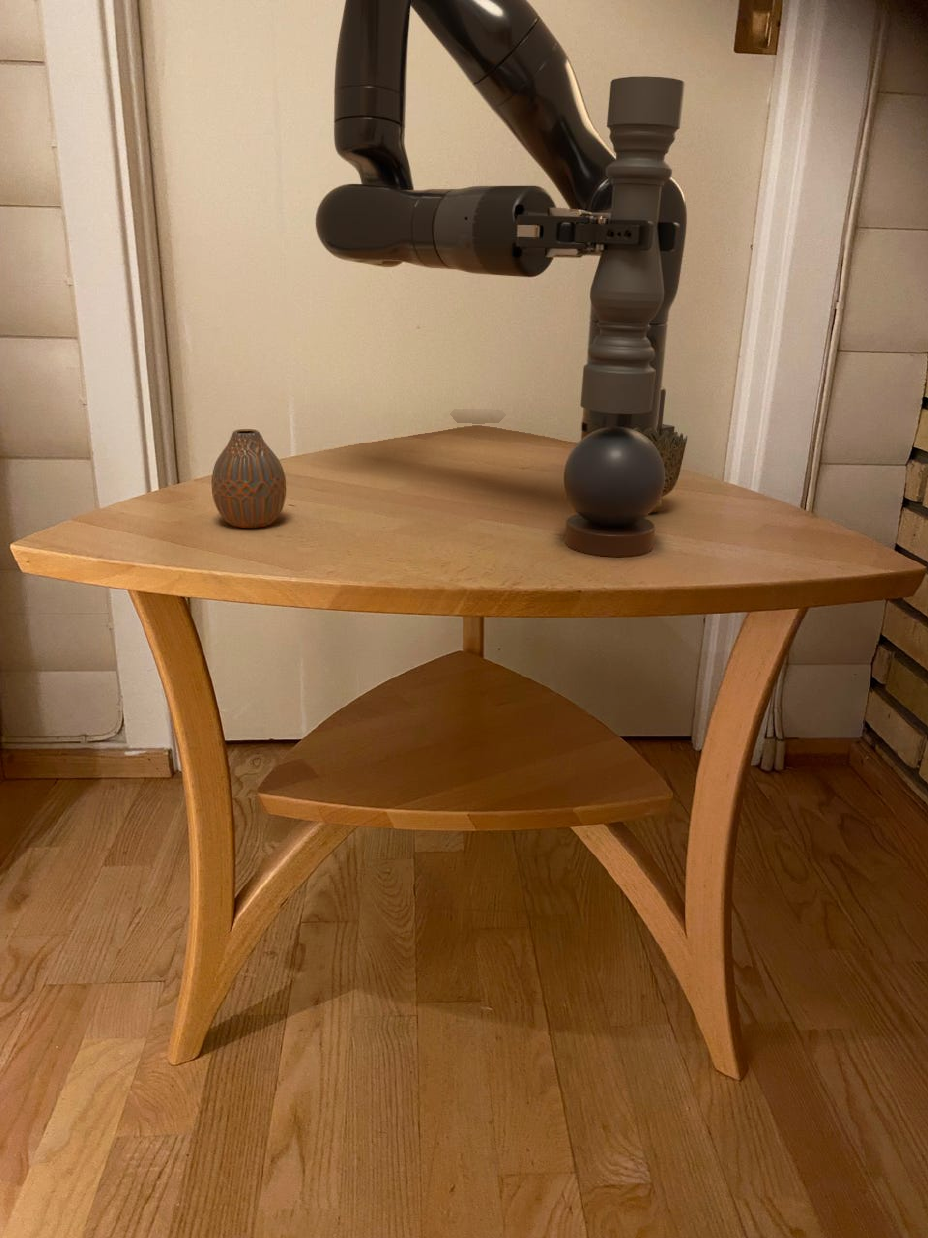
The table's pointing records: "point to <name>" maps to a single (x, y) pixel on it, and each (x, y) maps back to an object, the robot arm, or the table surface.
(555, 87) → the robot arm
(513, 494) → the table surface
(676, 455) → the spiky textured bowl
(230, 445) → the vase
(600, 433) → the ball on stand
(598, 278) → the candle holder
